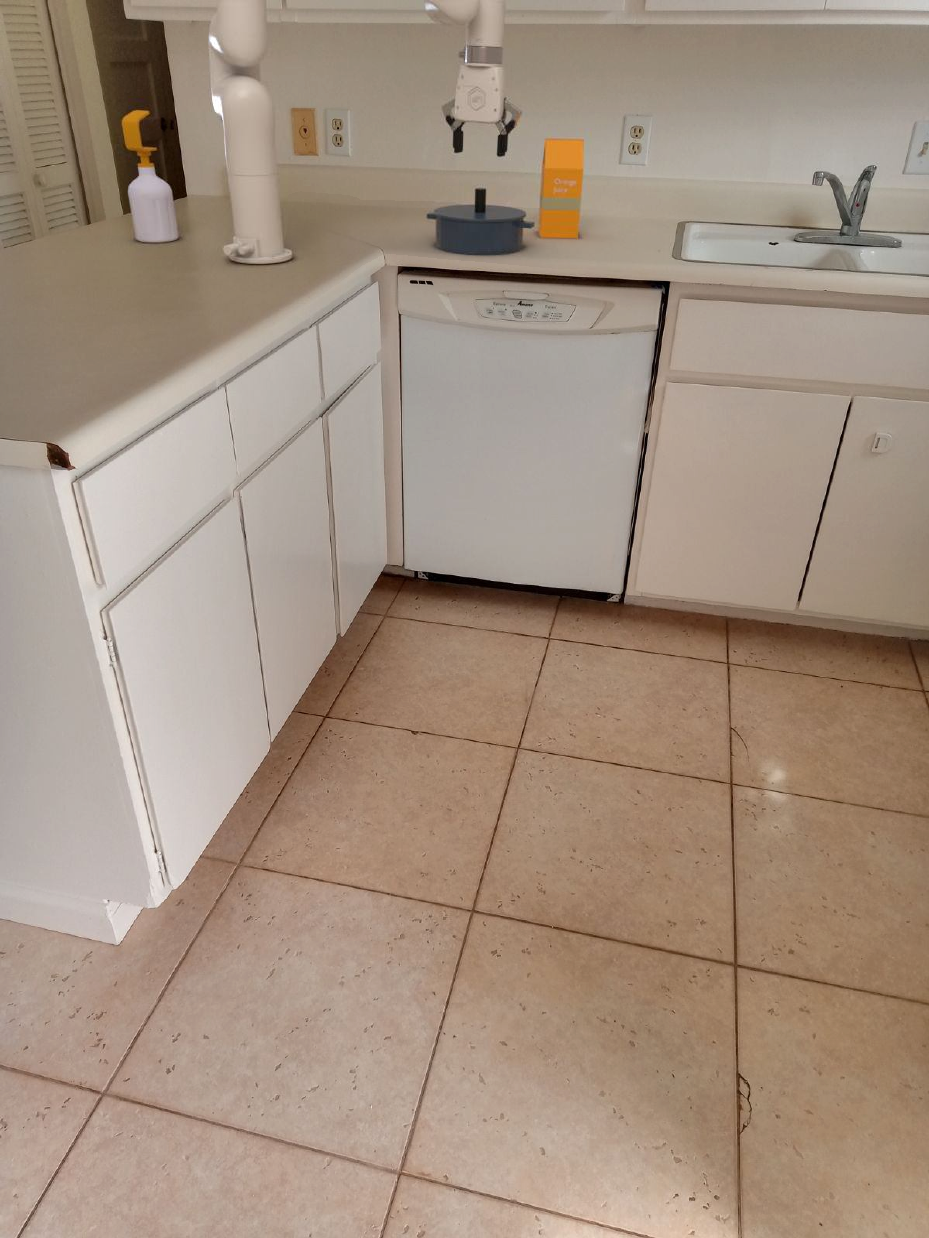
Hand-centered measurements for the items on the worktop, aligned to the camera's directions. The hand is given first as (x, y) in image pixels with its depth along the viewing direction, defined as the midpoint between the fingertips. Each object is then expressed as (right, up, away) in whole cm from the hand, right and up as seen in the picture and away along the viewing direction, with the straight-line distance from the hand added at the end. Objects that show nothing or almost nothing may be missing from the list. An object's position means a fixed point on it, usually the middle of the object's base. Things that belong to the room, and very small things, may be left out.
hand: (479, 154), depth 186 cm
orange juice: (+19, -7, +24) cm, 31 cm away
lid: (0, -10, +6) cm, 12 cm away
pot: (0, -15, +10) cm, 18 cm away
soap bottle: (-71, -14, +9) cm, 73 cm away
